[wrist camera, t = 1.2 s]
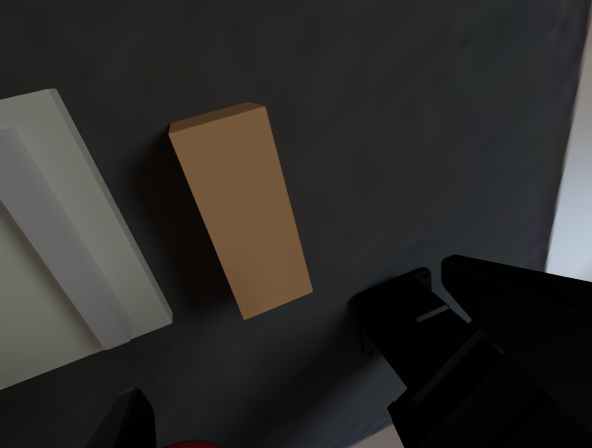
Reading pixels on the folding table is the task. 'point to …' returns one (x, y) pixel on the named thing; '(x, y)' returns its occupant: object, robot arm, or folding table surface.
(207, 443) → the canned food
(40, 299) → the deck plate
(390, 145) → the folding table surface
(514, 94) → the folding table surface
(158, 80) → the folding table surface
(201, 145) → the chute block
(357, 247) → the folding table surface
